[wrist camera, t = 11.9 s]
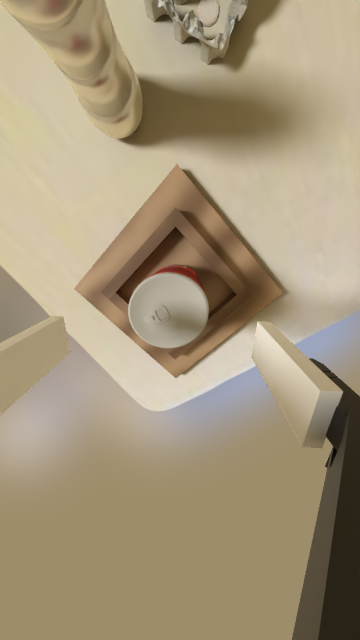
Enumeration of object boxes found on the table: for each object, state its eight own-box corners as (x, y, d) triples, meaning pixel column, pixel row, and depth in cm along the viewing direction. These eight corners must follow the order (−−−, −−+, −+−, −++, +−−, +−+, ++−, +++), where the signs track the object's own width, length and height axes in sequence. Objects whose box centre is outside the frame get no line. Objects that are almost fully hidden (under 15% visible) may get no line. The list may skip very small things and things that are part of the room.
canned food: (138, 286, 29) (110, 308, 19) (180, 251, 27) (174, 253, 17) (171, 324, 31) (162, 362, 21) (212, 294, 29) (225, 319, 19)
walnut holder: (79, 286, 31) (66, 291, 28) (177, 168, 25) (175, 156, 22) (176, 373, 36) (175, 385, 33) (278, 290, 30) (289, 296, 27)
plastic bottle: (133, 157, 25) (-32, -111, 6) (84, 126, 24) (-277, -291, 5) (156, 97, 23) (7, -567, 4) (102, 61, 22) (-378, -970, 3)
